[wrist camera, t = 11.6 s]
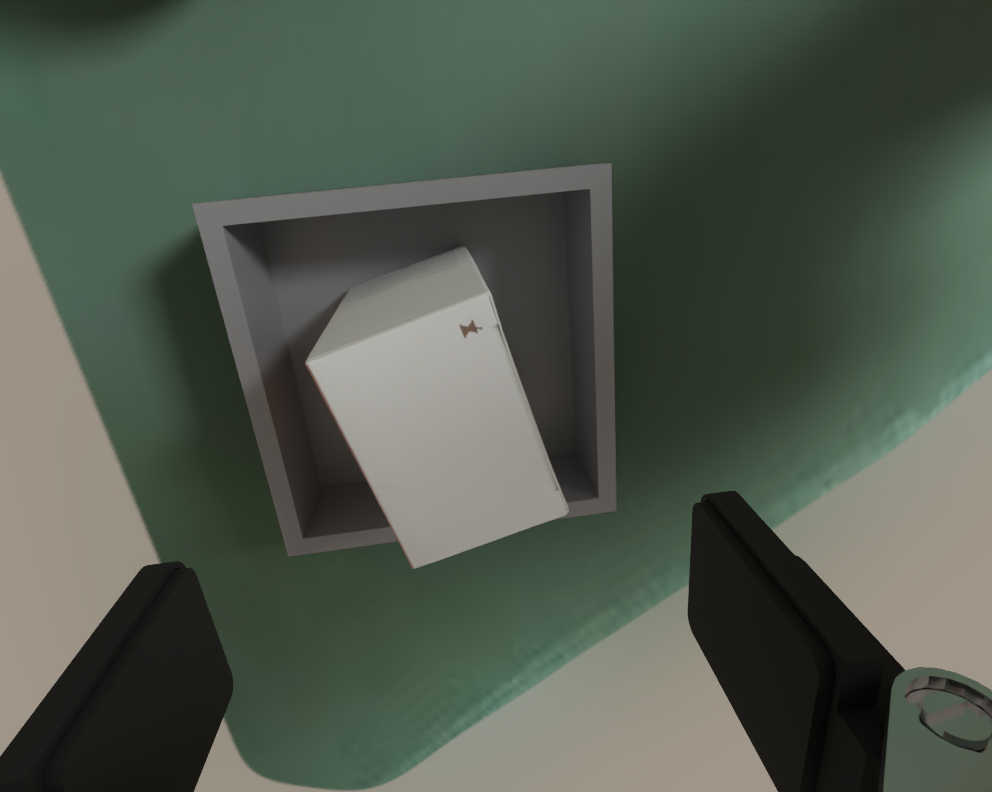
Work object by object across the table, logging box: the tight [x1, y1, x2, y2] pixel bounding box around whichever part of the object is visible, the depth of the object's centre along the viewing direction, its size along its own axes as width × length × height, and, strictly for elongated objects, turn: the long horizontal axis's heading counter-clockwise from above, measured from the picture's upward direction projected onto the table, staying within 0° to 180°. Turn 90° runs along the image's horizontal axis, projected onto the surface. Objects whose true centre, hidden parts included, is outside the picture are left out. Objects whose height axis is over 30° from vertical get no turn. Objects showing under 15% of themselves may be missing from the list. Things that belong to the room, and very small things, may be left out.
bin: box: [192, 163, 617, 557], centre depth 25 cm, size 15×15×5 cm
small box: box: [305, 245, 569, 569], centre depth 22 cm, size 8×6×10 cm
